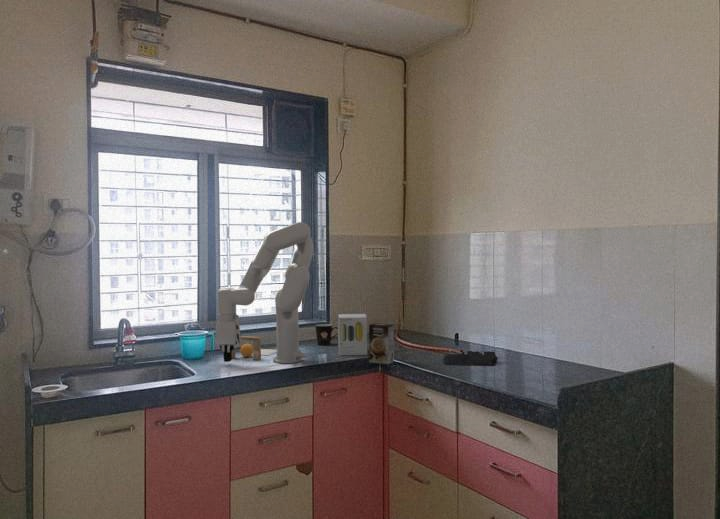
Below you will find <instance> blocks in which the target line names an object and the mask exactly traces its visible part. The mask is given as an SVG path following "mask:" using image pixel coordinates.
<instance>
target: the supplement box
mask: <svg viewBox="0 0 720 519" xmlns="http://www.w3.org/2000/svg"><path fill="white" fill-rule="evenodd" d="M337 316H338V318H337V319H338V321H337V322H338V323H337V324H338V325H337V328H338V329H337V333H338V335H337V337H338V338H337V339H338V340H337V341H338V342H337V343H338V345H337V346H338V347H337V348H338V356H367V355H368V329H367V328H368V326H367V325H368V324H367V323H368V322H367V321H368V318H367V315H366V313H346V314H343V313H342V314H341V313H339V314H338V315H337Z"/></svg>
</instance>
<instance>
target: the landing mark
mask: <svg viewBox="0 0 720 519" xmlns="http://www.w3.org/2000/svg"><path fill="white" fill-rule="evenodd" d="M275 353H277V349H270V348H269V349H265V348H261V356H270V355H273V354H275ZM251 356H253V354H252V355H251Z"/></svg>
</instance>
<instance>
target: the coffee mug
mask: <svg viewBox="0 0 720 519" xmlns="http://www.w3.org/2000/svg"><path fill="white" fill-rule="evenodd" d="M314 326H315V333H316V335H315V336H316V341H317V346H319V347H320V346H321V347H323V346H324V347H325V346H326V347H327V345H328V346H330V345H331V341H332V340H333V338H335V337H338V332H337V333H336V334H335V335H333V336H332V332H333V330H334V329H337V330H338V326H333V324H330V323H320V324H315V325H314Z"/></svg>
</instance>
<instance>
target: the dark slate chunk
mask: <svg viewBox="0 0 720 519" xmlns="http://www.w3.org/2000/svg"><path fill="white" fill-rule="evenodd" d="M498 359H499V358H498V357H497V355H496V353H495V351H493V350H492V351H488V350H487V351H486V350H485V351H483V353H482V352H480V351H476V350H475V351H473V350H469V351H467V353H466V354H465V353H464V354H463V353H452V354H450V353H448V354H447V353H446V354H444V356H443V363H444V365H446V366H463V367H465V366H466V367H496V366H497V364H498V363H497V362H498Z"/></svg>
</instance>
